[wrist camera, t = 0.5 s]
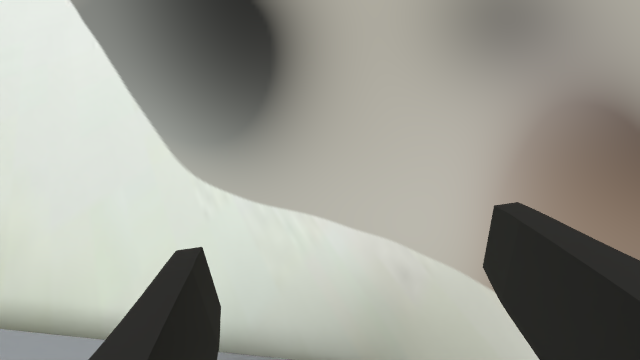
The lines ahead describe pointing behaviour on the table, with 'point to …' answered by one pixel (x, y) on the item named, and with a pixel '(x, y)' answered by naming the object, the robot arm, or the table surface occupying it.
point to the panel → (67, 347)
